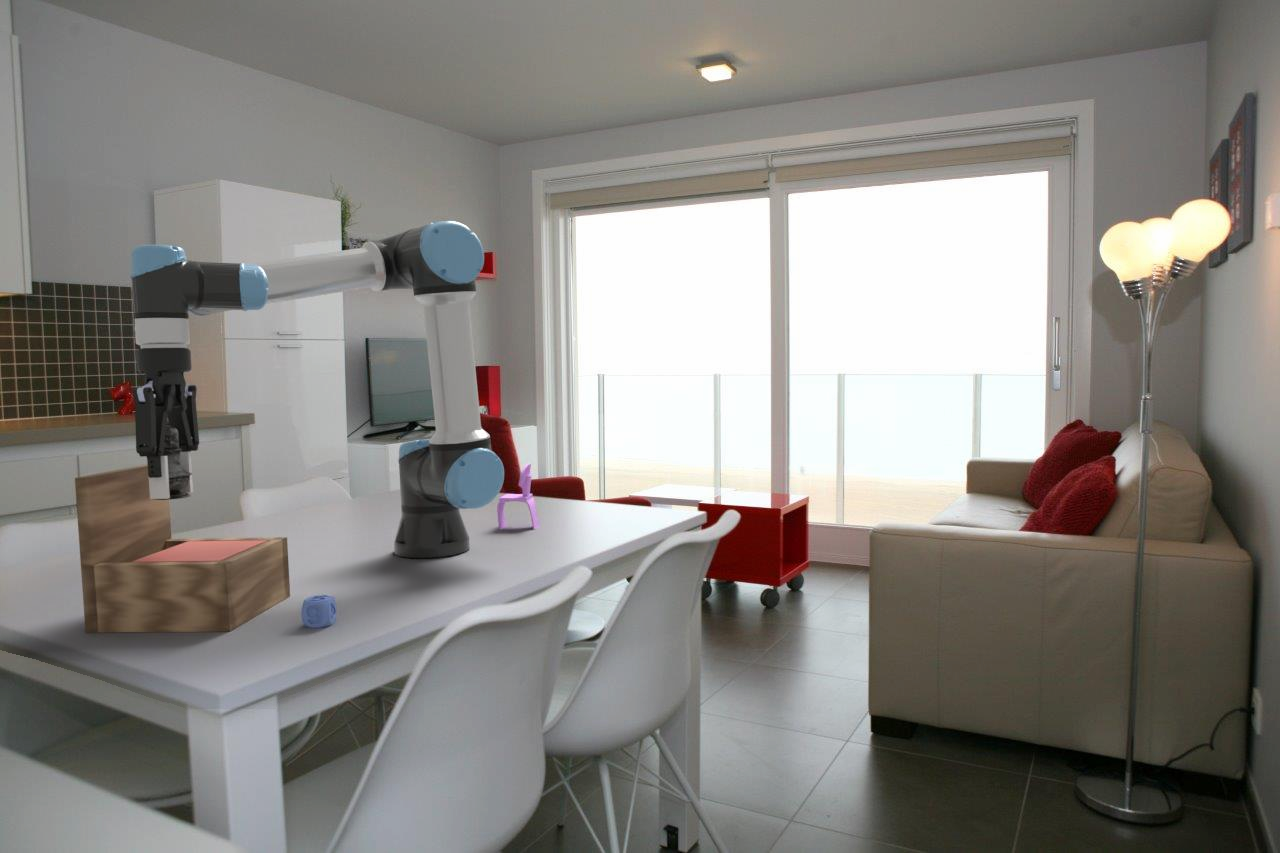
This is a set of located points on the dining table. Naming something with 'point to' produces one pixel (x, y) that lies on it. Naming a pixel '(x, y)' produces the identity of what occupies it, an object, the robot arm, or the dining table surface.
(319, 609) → the decorative dice
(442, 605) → the dining table surface
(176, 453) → the salt shaker
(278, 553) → the wooden box
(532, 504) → the toy chair
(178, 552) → the trapdoor
